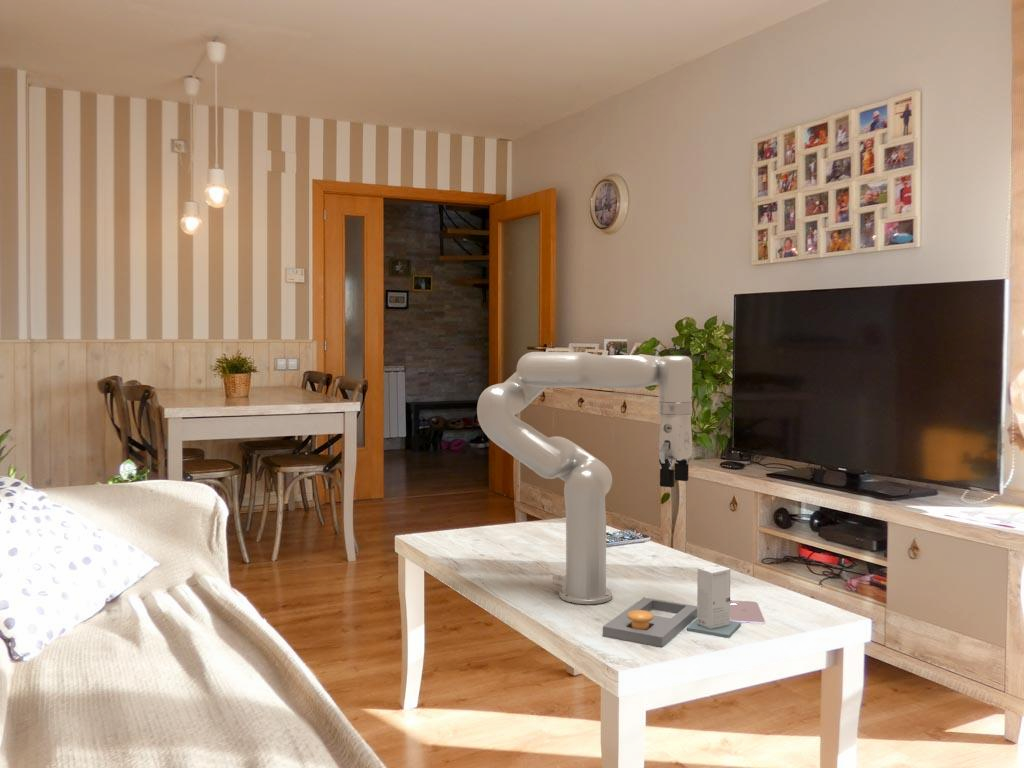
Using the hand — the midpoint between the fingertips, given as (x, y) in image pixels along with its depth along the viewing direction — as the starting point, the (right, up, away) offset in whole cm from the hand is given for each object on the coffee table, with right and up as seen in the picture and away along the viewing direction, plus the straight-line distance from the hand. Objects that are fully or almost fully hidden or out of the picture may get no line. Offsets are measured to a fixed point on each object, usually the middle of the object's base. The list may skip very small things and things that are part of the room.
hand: (674, 483), depth 196 cm
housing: (-7, -29, -13) cm, 33 cm away
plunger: (-11, -29, -19) cm, 36 cm away
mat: (+6, -29, -15) cm, 33 cm away
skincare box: (+6, -29, -14) cm, 32 cm away
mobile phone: (+15, -29, -4) cm, 33 cm away
